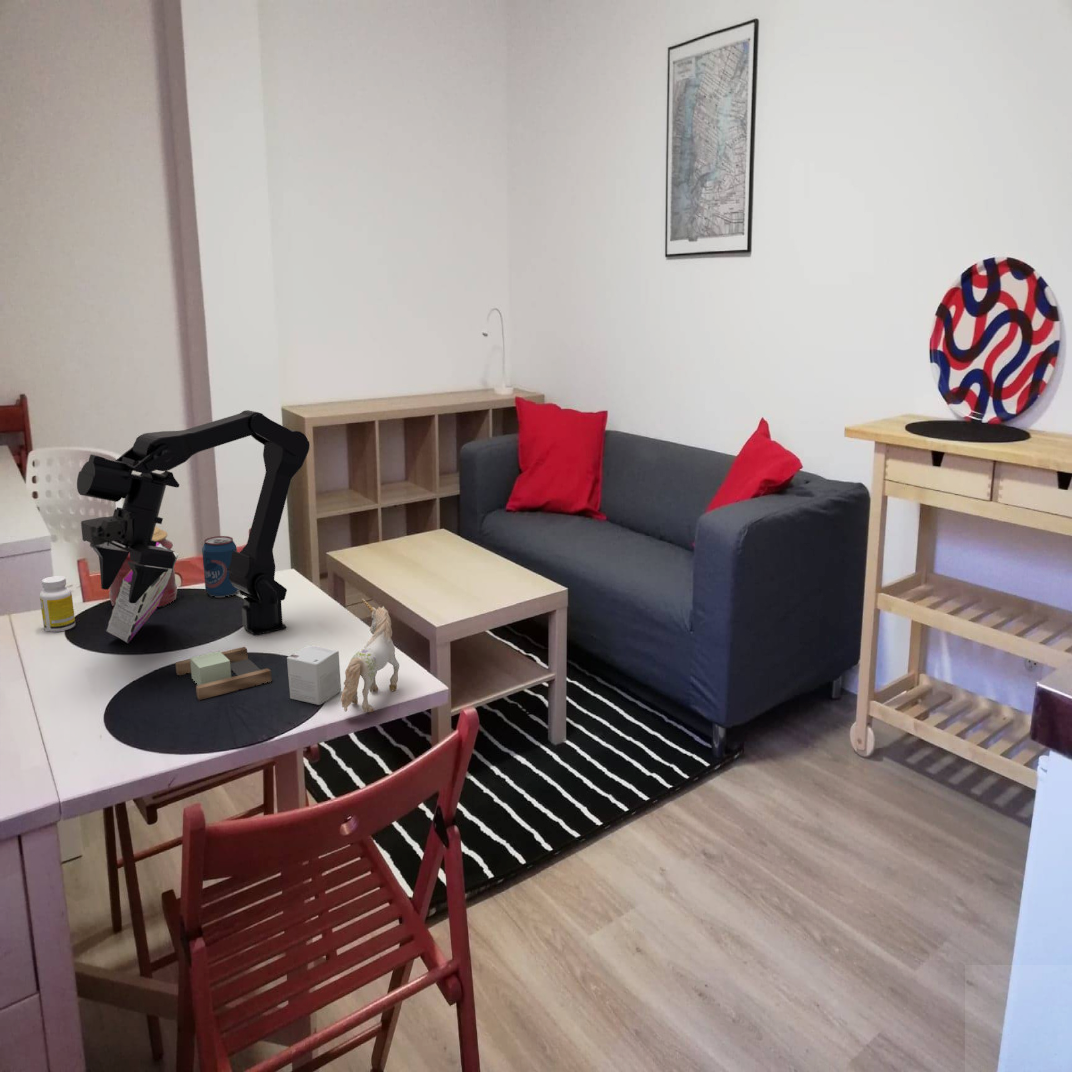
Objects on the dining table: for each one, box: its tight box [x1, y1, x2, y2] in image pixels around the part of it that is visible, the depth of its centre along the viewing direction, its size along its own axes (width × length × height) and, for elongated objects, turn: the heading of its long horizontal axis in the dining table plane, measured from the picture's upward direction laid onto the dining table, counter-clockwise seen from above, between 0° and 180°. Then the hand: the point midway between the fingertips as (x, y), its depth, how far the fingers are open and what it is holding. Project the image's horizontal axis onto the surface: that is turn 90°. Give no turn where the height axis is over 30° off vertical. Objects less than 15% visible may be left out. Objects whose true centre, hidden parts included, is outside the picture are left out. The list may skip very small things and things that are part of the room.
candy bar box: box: [105, 542, 180, 644], centre depth 163 cm, size 11×5×16 cm
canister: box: [108, 526, 178, 608], centre depth 183 cm, size 13×13×18 cm
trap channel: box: [175, 646, 272, 701], centre depth 151 cm, size 12×12×2 cm
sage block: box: [189, 650, 232, 686], centre depth 150 cm, size 5×5×4 cm
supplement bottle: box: [39, 575, 76, 633], centre depth 170 cm, size 5×5×10 cm
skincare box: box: [286, 644, 342, 706], centre depth 145 cm, size 6×6×7 cm
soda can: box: [201, 535, 239, 598], centre depth 190 cm, size 7×7×12 cm
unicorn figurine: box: [340, 598, 400, 714], centre depth 144 cm, size 7×20×13 cm, turn 0°
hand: (118, 596), depth 151 cm, fingers open, 9 cm apart
